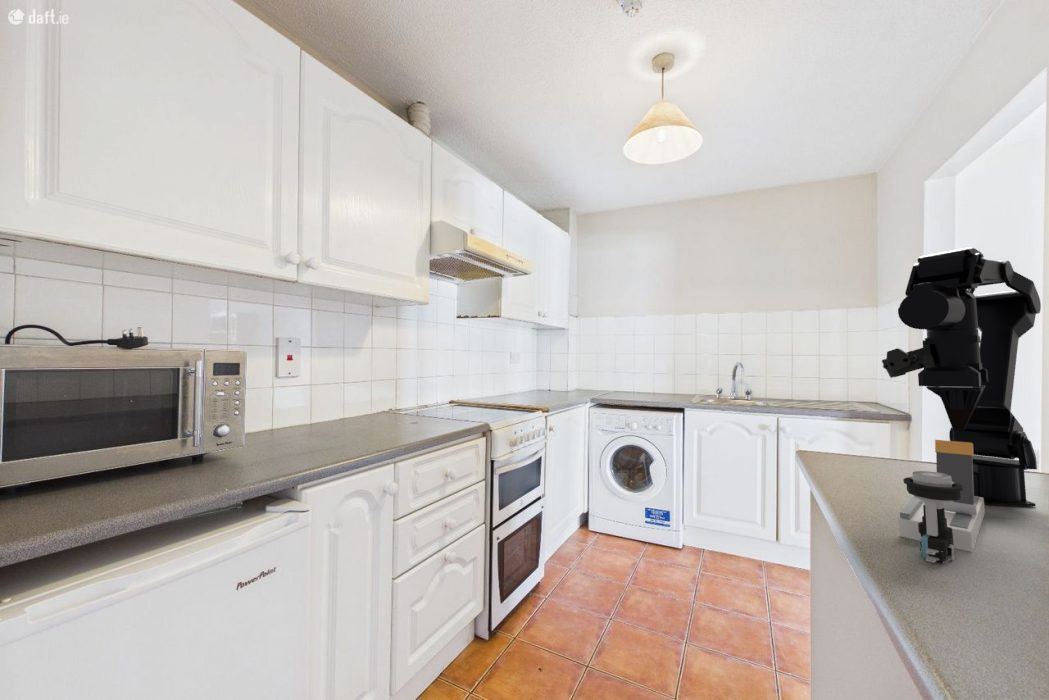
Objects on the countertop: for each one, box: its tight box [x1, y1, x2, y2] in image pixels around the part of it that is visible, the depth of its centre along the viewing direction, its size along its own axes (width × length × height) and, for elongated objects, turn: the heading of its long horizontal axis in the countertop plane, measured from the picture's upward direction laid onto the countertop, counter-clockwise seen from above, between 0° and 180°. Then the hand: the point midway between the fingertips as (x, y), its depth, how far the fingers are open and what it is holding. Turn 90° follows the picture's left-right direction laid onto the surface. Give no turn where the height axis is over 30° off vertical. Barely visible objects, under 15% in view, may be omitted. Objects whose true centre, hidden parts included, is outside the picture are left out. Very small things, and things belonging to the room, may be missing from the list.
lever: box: [934, 439, 977, 516], centre depth 61 cm, size 2×4×10 cm, turn 39°
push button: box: [902, 470, 963, 564], centre depth 52 cm, size 7×5×10 cm
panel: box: [897, 495, 986, 553], centre depth 63 cm, size 20×7×3 cm, turn 130°
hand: (958, 431), depth 66 cm, fingers closed
